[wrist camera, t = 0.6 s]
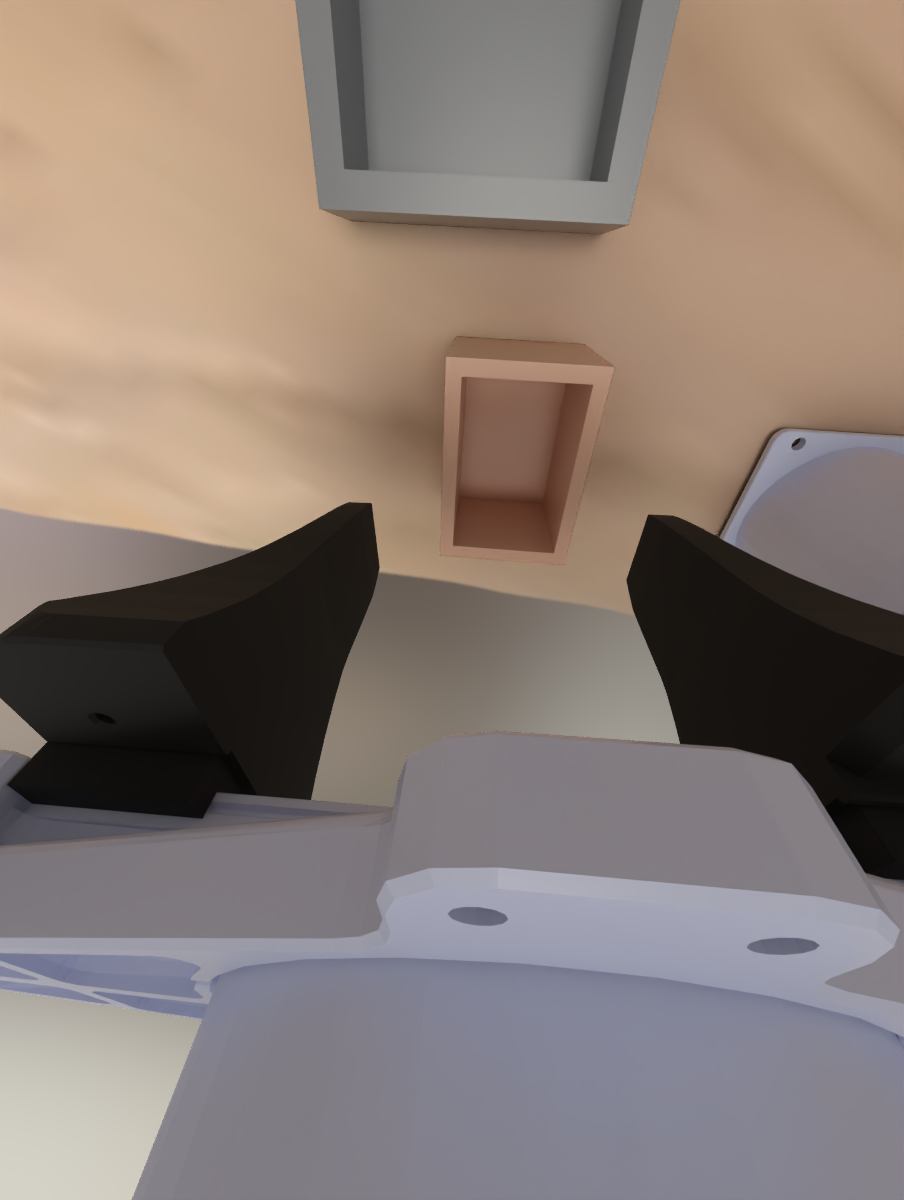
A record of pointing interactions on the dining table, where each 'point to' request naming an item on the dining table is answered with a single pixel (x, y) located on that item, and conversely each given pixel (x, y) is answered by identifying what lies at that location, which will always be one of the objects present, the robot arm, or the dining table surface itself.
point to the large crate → (483, 109)
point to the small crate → (517, 446)
